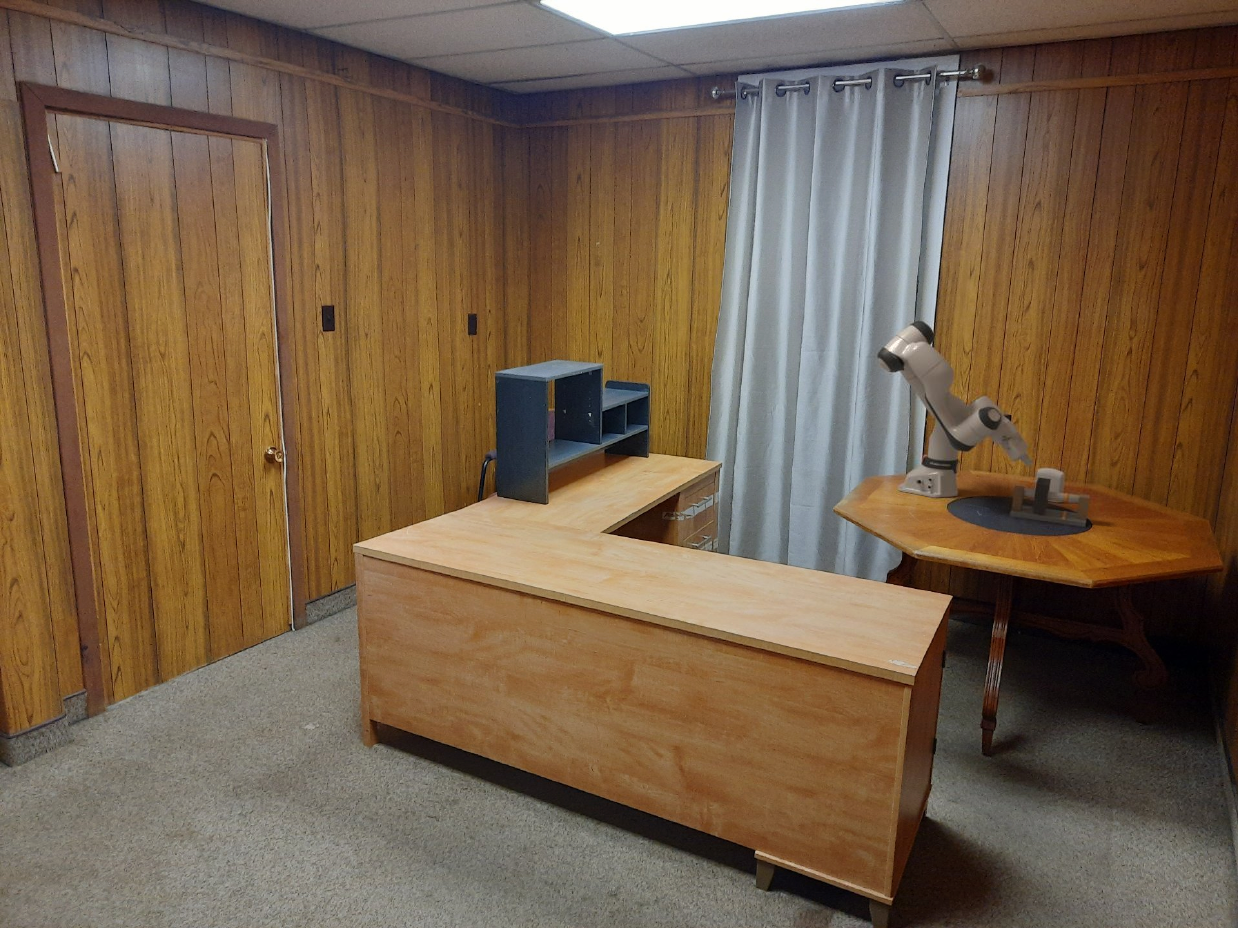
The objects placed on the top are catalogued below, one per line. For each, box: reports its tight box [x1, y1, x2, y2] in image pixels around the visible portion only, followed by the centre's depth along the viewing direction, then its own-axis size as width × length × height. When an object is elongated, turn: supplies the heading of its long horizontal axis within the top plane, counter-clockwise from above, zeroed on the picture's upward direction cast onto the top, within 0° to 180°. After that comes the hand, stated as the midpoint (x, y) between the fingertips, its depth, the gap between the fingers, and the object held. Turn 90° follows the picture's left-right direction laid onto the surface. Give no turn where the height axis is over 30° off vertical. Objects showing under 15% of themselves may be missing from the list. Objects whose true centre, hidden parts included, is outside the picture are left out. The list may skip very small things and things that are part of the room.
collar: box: [1032, 478, 1051, 512], centre depth 308 cm, size 4×10×10 cm, turn 150°
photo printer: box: [1034, 467, 1066, 504], centre depth 330 cm, size 10×4×12 cm, turn 39°
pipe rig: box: [1009, 485, 1091, 528], centre depth 307 cm, size 24×12×10 cm, turn 60°
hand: (1030, 465), depth 307 cm, fingers closed
